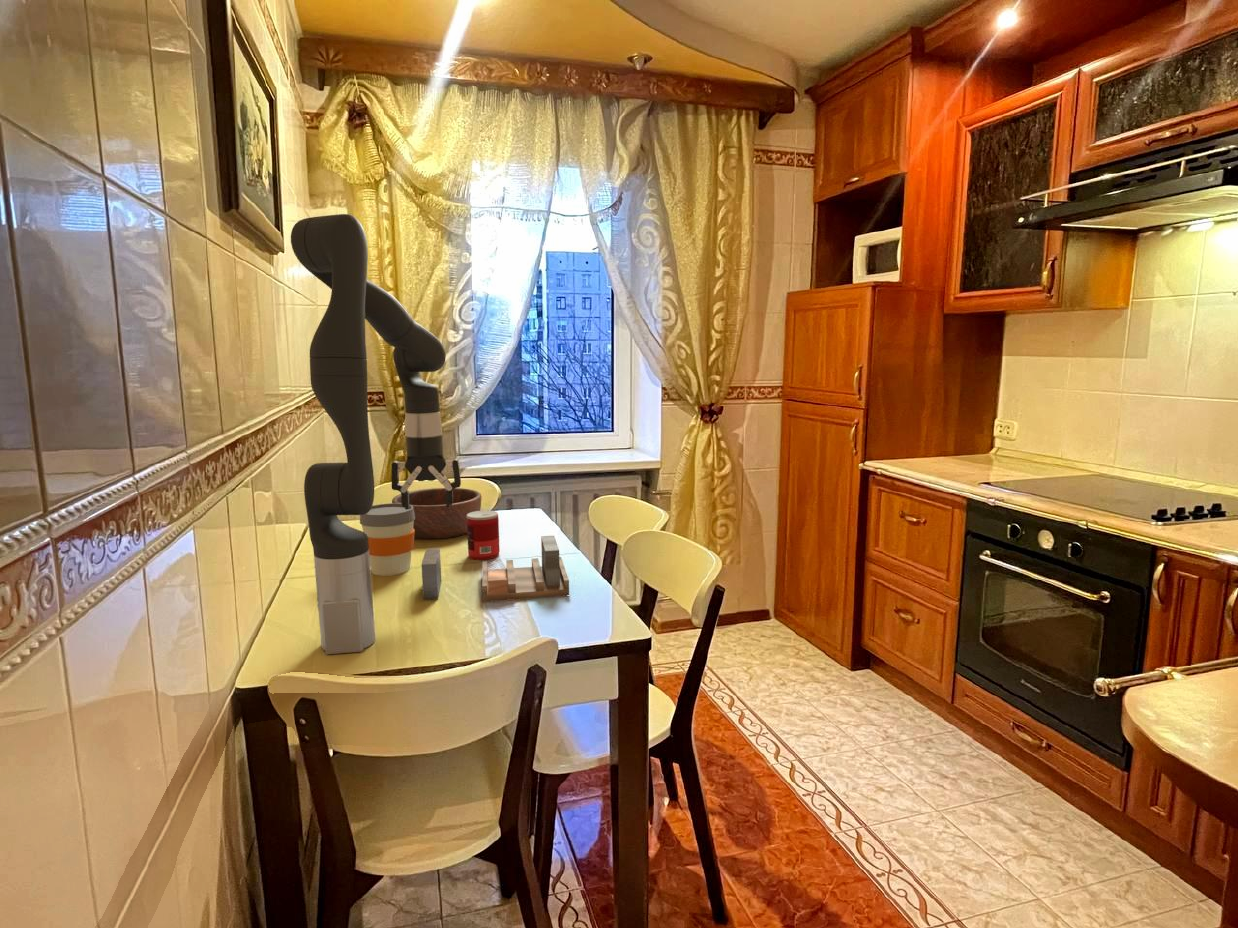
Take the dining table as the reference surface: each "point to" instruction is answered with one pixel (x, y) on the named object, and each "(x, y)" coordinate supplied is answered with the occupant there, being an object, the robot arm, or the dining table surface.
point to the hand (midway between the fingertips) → (428, 507)
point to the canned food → (483, 534)
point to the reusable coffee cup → (389, 538)
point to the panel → (431, 574)
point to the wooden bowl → (441, 511)
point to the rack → (528, 577)
